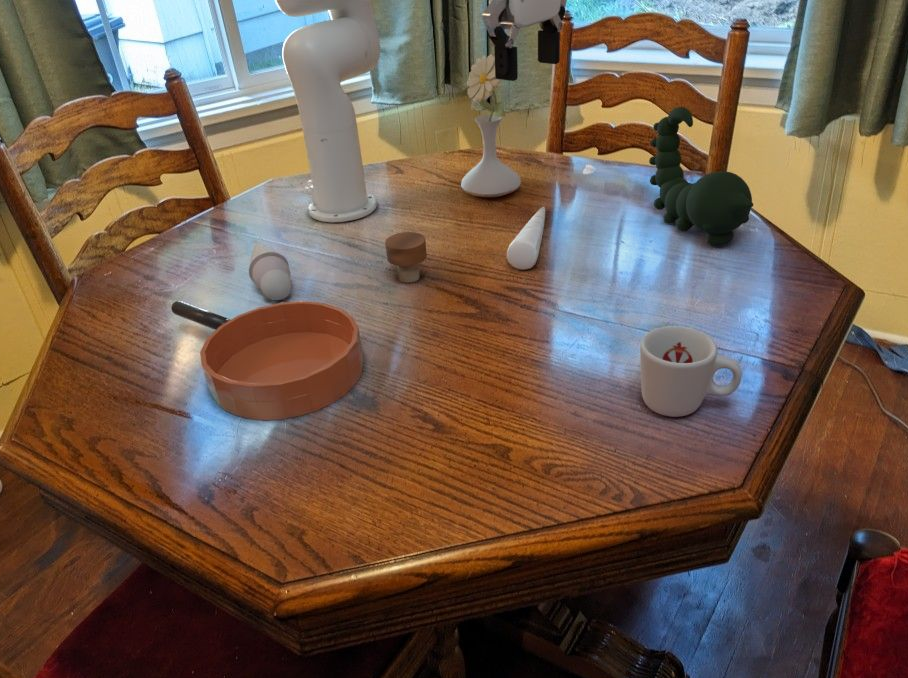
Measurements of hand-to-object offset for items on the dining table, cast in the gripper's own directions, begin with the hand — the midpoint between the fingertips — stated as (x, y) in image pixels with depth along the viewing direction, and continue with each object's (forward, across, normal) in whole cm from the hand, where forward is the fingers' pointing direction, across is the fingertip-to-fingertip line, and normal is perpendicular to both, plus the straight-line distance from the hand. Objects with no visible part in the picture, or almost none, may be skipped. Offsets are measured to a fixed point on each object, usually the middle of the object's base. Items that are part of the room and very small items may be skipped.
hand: (528, 70), depth 97 cm
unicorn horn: (+28, -7, -4) cm, 30 cm away
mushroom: (+28, +14, -13) cm, 34 cm away
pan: (+28, +42, -8) cm, 51 cm away
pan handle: (+25, +43, -23) cm, 55 cm away
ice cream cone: (+28, +28, -30) cm, 49 cm away
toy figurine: (+28, -24, +16) cm, 41 cm away
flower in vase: (+28, -20, -23) cm, 42 cm away
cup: (+28, +20, +35) cm, 49 cm away
